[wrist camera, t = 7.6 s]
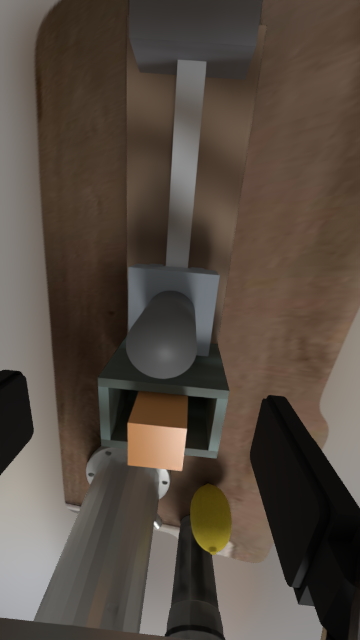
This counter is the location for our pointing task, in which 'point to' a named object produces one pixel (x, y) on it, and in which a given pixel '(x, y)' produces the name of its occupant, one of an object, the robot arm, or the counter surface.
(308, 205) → the counter surface
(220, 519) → the lemon
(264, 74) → the counter surface
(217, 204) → the rail base
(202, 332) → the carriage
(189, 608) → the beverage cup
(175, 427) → the orange block
